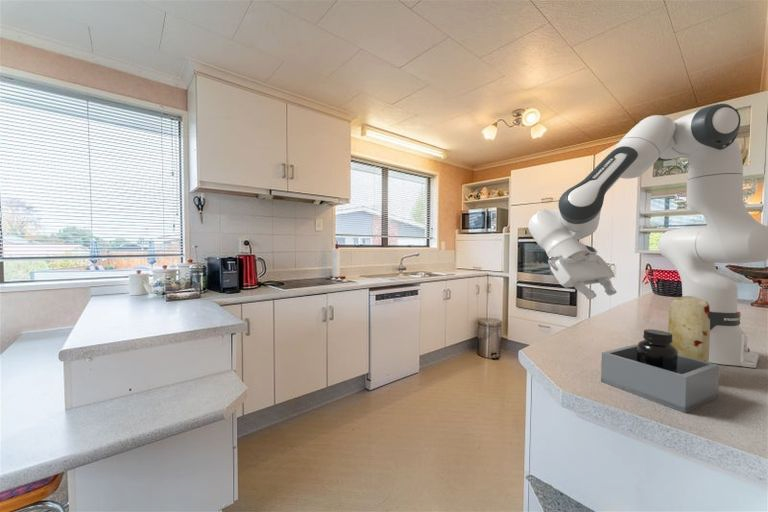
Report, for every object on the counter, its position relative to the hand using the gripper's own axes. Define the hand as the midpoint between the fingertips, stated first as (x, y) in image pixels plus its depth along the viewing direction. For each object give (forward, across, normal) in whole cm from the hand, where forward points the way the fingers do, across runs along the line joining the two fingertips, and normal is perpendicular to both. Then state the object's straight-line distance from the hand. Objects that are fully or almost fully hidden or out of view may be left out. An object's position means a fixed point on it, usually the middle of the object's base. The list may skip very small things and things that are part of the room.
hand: (603, 296), depth 79 cm
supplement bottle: (+22, -2, +3) cm, 22 cm away
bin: (+22, -2, +4) cm, 23 cm away
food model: (+23, +14, +4) cm, 27 cm away
